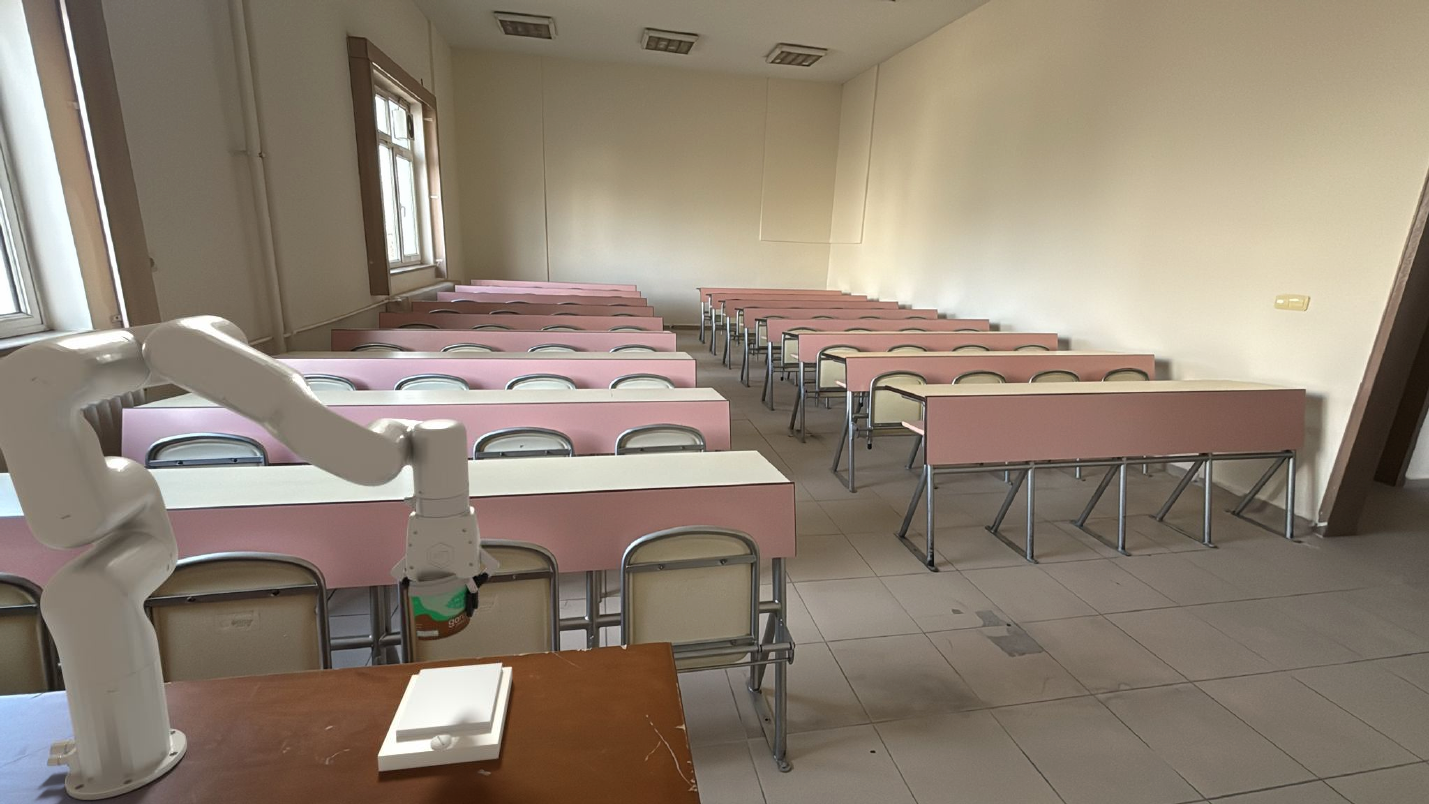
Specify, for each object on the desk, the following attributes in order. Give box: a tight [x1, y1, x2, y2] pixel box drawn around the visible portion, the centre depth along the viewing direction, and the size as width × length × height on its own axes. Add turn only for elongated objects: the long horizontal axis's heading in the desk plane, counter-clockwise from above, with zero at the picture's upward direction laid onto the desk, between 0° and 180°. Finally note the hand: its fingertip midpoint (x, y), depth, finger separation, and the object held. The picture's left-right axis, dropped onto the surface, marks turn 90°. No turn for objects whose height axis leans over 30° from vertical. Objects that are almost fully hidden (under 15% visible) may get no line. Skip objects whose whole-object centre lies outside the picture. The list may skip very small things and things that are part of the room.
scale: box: [377, 662, 513, 772], centre depth 101 cm, size 16×19×4 cm
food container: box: [407, 574, 474, 642], centre depth 99 cm, size 12×6×10 cm, turn 170°
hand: (448, 613), depth 100 cm, fingers closed on food container, 6 cm apart
